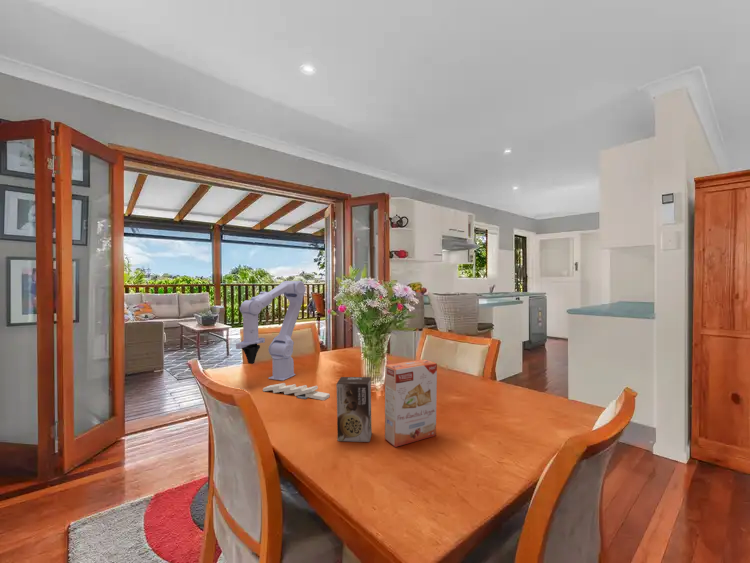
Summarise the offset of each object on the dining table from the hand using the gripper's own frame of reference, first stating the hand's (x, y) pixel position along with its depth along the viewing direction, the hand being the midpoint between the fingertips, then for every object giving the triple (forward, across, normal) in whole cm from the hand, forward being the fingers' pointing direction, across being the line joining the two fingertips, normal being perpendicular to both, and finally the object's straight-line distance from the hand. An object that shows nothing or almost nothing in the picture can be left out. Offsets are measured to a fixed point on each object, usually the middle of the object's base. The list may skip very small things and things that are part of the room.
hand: (251, 363), depth 142 cm
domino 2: (+9, 0, -12) cm, 16 cm away
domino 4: (+9, 0, -22) cm, 24 cm away
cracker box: (+10, -19, -72) cm, 76 cm away
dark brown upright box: (+10, -24, -58) cm, 63 cm away
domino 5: (+9, 0, -27) cm, 28 cm away
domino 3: (+9, 0, -17) cm, 20 cm away
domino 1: (+9, 0, -7) cm, 12 cm away
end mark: (+10, 0, -26) cm, 28 cm away
